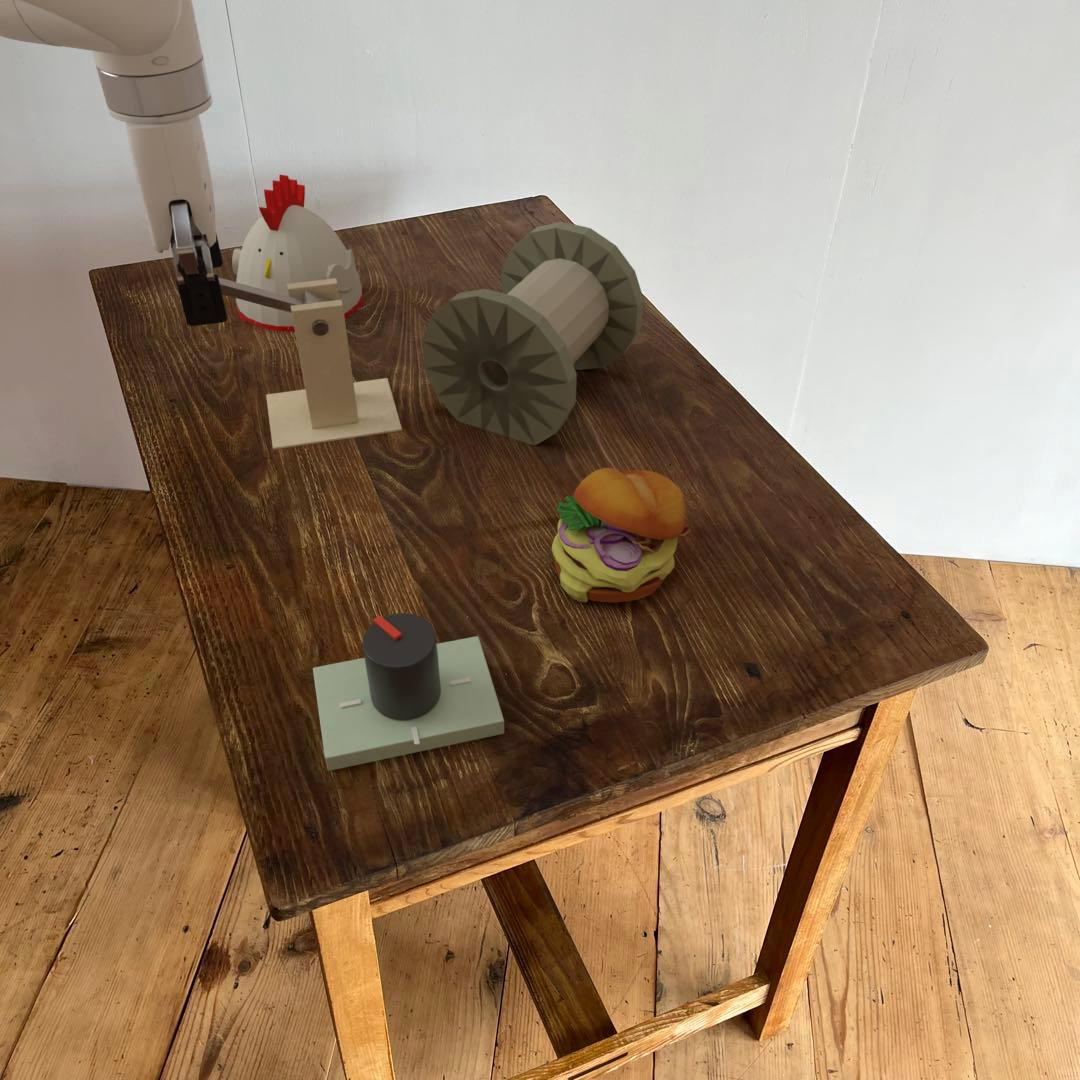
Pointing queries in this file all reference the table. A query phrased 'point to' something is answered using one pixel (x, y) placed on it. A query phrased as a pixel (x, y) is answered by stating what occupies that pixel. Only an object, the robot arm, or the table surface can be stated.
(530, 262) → the spool
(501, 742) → the table surface
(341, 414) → the wooden stand
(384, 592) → the table surface
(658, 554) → the cheeseburger
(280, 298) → the lever
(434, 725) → the dial panel
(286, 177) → the kitchen timer
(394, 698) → the knob
